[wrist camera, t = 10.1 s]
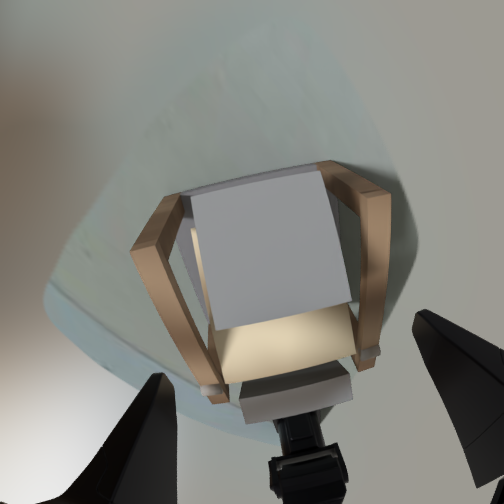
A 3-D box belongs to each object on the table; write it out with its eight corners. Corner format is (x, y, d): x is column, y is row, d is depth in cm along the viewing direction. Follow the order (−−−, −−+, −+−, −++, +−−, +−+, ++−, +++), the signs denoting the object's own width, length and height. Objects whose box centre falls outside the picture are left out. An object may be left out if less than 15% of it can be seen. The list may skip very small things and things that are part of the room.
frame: (339, 300, 23) (376, 371, 16) (212, 329, 23) (212, 409, 16) (330, 160, 17) (396, 197, 10) (164, 196, 17) (126, 257, 10)
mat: (339, 300, 23) (341, 304, 22) (212, 329, 23) (212, 333, 23) (330, 160, 17) (333, 161, 17) (164, 196, 17) (162, 199, 17)
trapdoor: (340, 375, 20) (362, 401, 15) (244, 397, 20) (238, 430, 15) (307, 219, 22) (322, 199, 16) (208, 241, 22) (190, 228, 16)
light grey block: (319, 293, 15) (351, 300, 10) (233, 312, 16) (216, 330, 10) (300, 209, 16) (320, 170, 10) (216, 227, 16) (190, 196, 10)
